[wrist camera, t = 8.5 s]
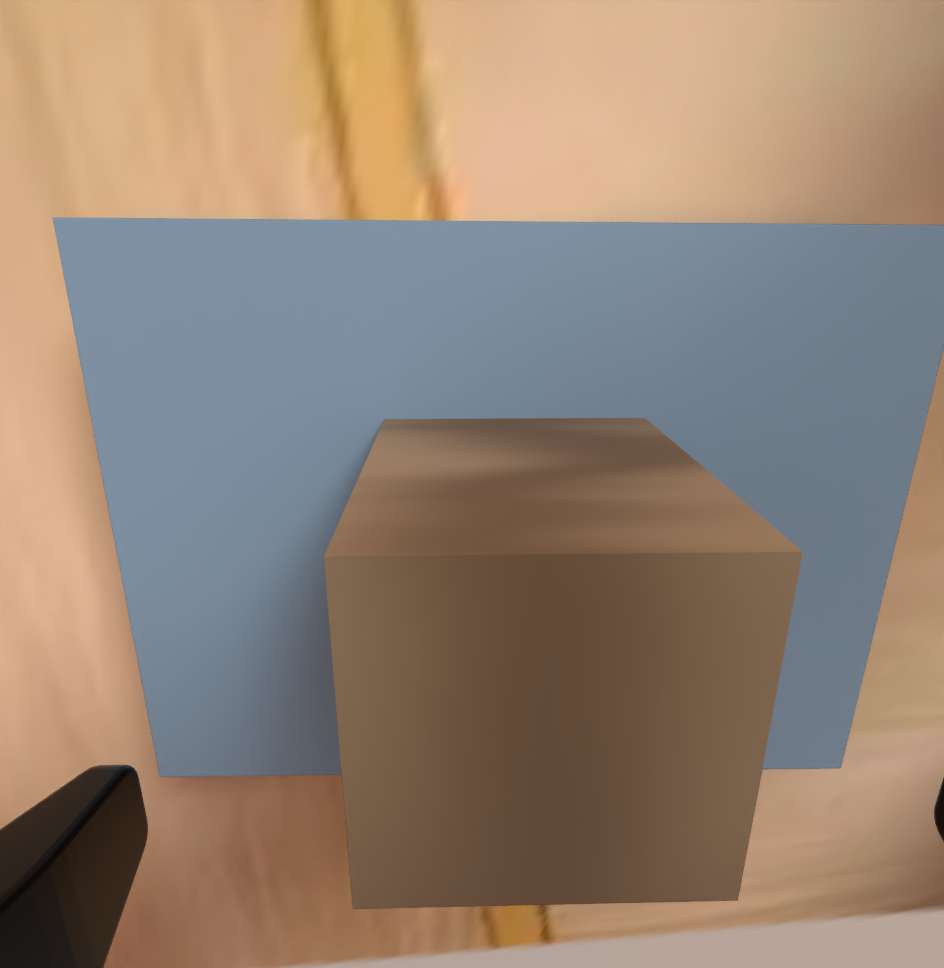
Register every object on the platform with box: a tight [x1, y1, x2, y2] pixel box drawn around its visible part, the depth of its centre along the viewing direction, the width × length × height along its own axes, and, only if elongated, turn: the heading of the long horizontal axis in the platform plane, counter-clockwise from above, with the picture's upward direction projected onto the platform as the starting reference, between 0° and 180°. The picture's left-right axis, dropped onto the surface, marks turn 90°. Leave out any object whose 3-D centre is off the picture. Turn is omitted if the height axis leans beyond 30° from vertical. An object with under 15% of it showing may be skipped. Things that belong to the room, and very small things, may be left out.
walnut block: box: [324, 418, 803, 909], centre depth 10 cm, size 5×5×6 cm
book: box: [53, 218, 944, 777], centre depth 15 cm, size 16×12×3 cm
